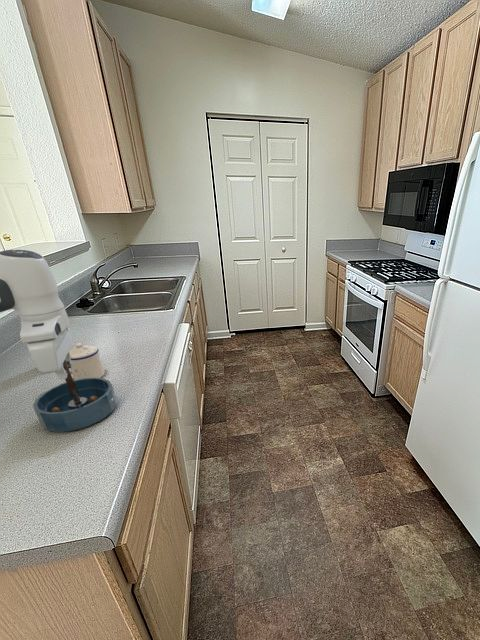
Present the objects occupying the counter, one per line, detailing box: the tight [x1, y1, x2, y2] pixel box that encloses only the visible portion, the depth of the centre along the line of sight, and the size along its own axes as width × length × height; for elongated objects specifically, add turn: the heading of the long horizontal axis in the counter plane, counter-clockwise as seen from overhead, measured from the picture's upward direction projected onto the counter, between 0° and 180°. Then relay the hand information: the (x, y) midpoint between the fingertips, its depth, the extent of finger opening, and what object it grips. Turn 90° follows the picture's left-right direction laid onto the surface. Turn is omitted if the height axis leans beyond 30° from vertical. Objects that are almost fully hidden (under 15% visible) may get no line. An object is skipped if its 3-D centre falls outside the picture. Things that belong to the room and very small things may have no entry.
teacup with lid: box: [69, 342, 106, 380], centre depth 105 cm, size 12×9×12 cm
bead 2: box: [90, 396, 98, 402], centre depth 93 cm, size 2×2×2 cm
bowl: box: [33, 377, 118, 433], centre depth 89 cm, size 18×18×6 cm
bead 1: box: [51, 407, 60, 412], centre depth 88 cm, size 2×2×2 cm
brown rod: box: [63, 359, 89, 410], centre depth 86 cm, size 4×4×18 cm
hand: (66, 372), depth 85 cm, fingers open, 5 cm apart
